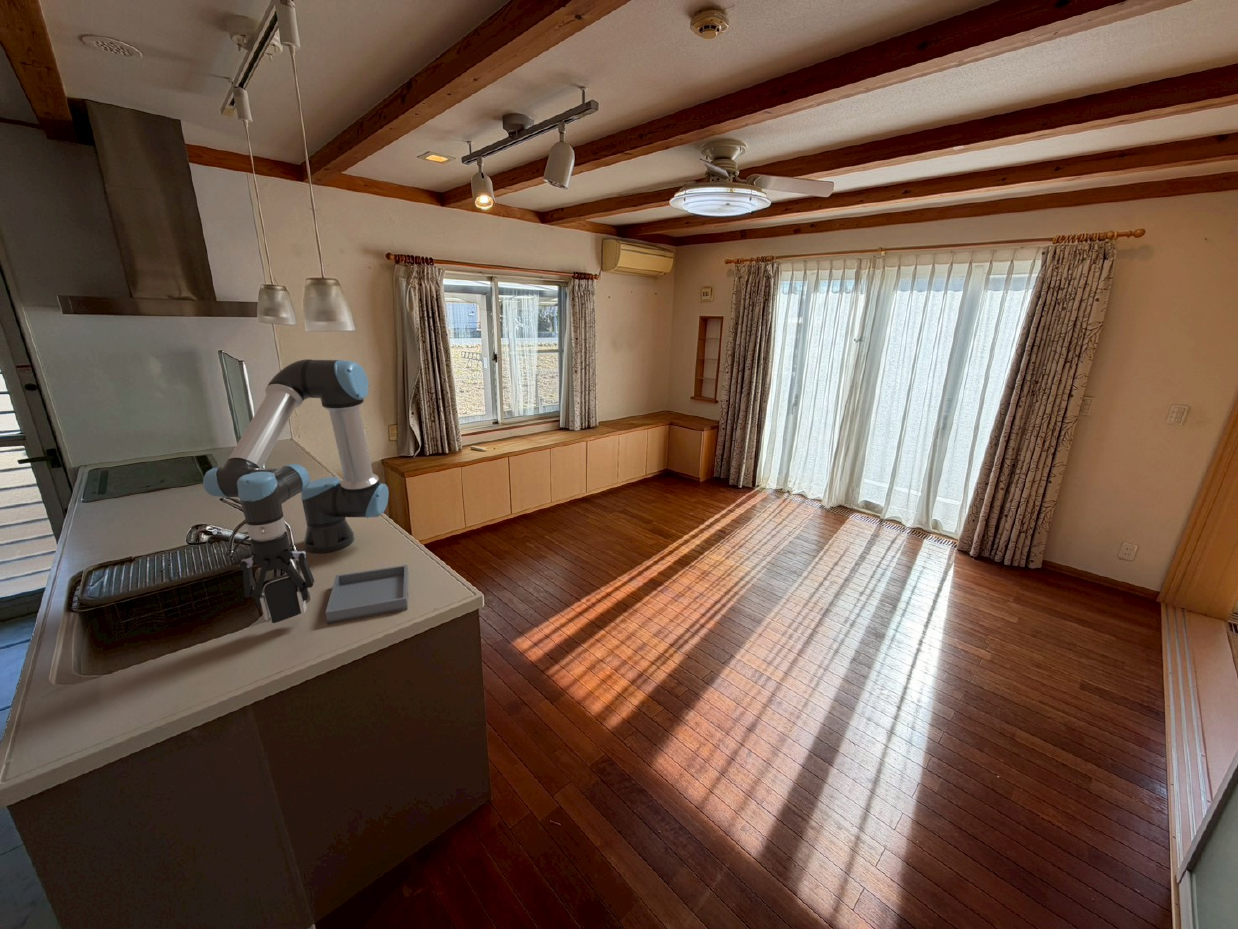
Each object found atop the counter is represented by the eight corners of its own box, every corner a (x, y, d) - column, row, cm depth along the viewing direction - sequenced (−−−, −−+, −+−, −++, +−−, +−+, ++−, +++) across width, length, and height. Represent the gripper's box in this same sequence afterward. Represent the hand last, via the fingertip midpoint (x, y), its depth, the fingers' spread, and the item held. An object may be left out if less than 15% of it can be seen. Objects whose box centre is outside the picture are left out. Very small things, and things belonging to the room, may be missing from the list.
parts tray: (337, 585, 145) (336, 575, 144) (408, 574, 152) (407, 564, 151) (327, 624, 128) (325, 612, 127) (407, 609, 135) (406, 598, 134)
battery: (299, 607, 129) (291, 570, 126) (303, 613, 127) (295, 575, 123) (268, 618, 125) (259, 579, 121) (271, 625, 122) (262, 586, 118)
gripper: (212, 548, 111) (234, 631, 118) (313, 535, 118) (328, 614, 126) (223, 534, 118) (244, 613, 125) (318, 522, 125) (332, 598, 132)
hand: (286, 613), depth 125 cm, fingers closed on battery, 7 cm apart
